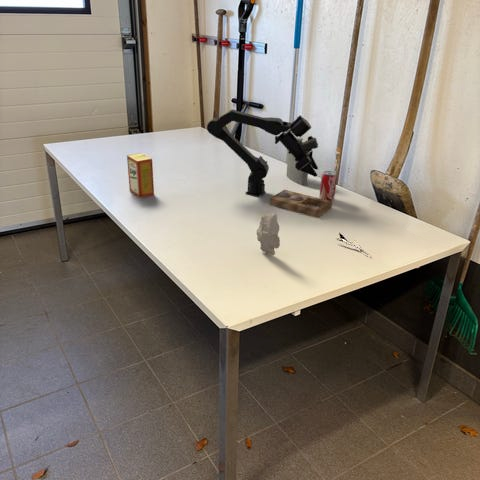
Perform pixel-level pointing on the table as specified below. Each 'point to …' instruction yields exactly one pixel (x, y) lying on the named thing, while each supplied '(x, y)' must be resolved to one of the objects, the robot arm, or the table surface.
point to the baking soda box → (140, 175)
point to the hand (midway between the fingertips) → (316, 172)
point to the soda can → (328, 185)
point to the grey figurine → (268, 233)
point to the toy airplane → (350, 243)
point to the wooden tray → (301, 203)
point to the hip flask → (295, 174)
